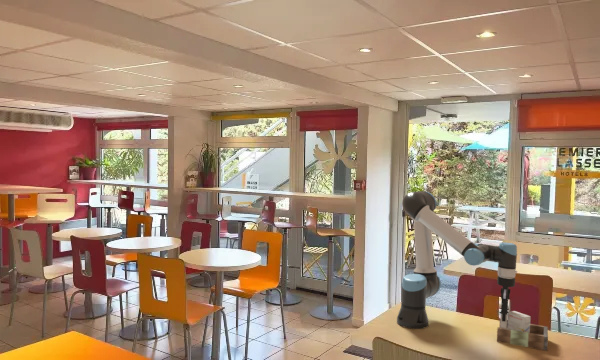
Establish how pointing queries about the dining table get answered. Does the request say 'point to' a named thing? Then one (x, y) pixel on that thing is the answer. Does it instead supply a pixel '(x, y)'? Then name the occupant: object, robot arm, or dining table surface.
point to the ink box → (518, 321)
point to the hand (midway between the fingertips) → (503, 327)
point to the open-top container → (525, 337)
